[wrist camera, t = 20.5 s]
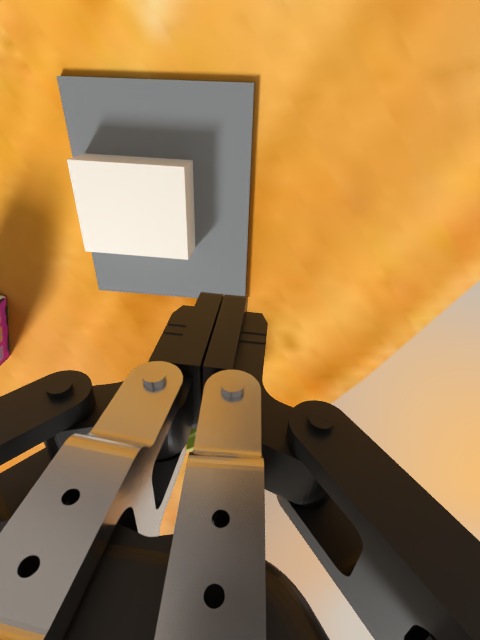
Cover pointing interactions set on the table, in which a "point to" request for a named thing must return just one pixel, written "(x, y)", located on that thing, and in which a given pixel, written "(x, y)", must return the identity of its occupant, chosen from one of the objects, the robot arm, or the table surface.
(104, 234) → the cream block
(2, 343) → the candy bar box
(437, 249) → the table surface
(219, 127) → the slate mat
